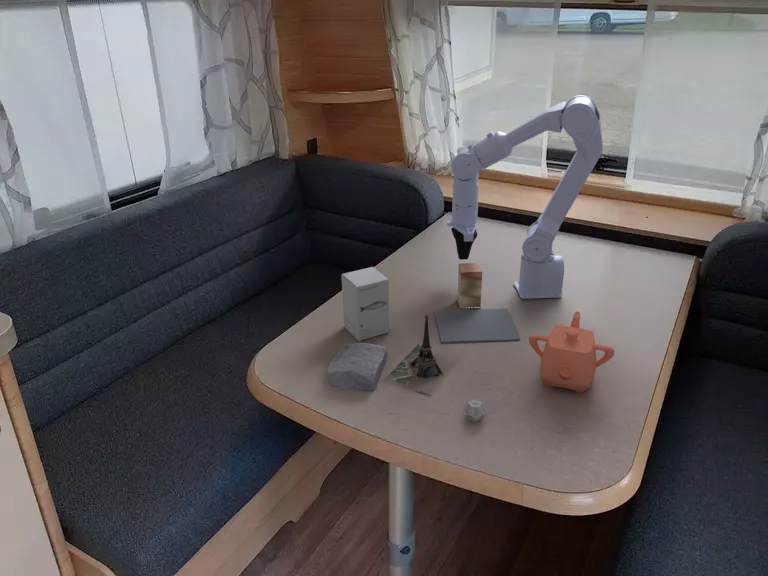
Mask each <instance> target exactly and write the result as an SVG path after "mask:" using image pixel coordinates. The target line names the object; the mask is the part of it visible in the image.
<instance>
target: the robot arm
mask: <svg viewBox="0 0 768 576" xmlns="http://www.w3.org/2000/svg"><path fill="white" fill-rule="evenodd" d="M601 123H602V122H601V114H600V111H599V109H598V107H597V105H596V103H595V101H594V100H593V99H592V98H591V97H589V96H587V95H583V94H579V95H575V96H573V97H572V98H569V100H568V101H567V100H564V101H562V102H559V103H557V104H555V105H553V106H551V107H549V108H548V109H546V110H544V111H542V112H540V113H539V114H537V115H536V116H533V117H532V118H530V119H529V120H527V121H526V122H524V123H523V124H520V125H519V126H517V127H515V128H514V129H512V130H510V131H508V132H504V131H496V132H493V131H490V132H488V133H487V134H486V137H485V138H484V139H482V140H480V141H478V142H476V143H475V144H473V143H470V144H468V145H467V148H463V149H461V150H459V152H458V153H457V154H456V155H455V157H454V158H453V159H452V161H451V167H450V168H451V171H452V174H453V183H452V210H451V211H452V212H451V213H452V214H451V220H446V225H447V227H451V228H450V231H451V233H452V236H453V238H454V240H455V244H456V245H455V246H456V252H457V257H458V259H459V261H461V260H468V259H469V256H470V253H471V250H472V246H473V245H474V244H473V243H474V242H475V240H476V239H477V237H478V232H477V228H478V225H479V222H478V221H479V220H478V213H479V212H478V211H479V190H480V189H479V187H480V183H479V176H480V175H479V170H485V169H487V168H489V167H491V166H493V165H495V164H497V163H499V162H500V161H502V160H505V159H507V158H508V157H510V156H512V152H513V149H514V147H516V146H518V145H520V144H523V143H524V142H526V141H529V140H531V139H533V138H535V137H537V136H539V135H541V134H543V133H545V132H547V131H550V132H552V133H553V132H554V133H559V134H560V133H562V130H563V129H564V131H565V132H566V134H568V135H569V137H571V138H572V141H573V143H574V146H575V148H576V152H575V153H574V155H573V157H572V159H571V160H570V163H569V164H568V166H567V168H566V170H565V171H564V173H563V175H562V177H561V179H560V181H559V183H558V184H557V186H556V188H555V190H554V192H553V194H552V195H551V197H550V199H549V200H548V202H547V204H546V205H545V208H544V210H543V211H542V213H541V214H540V215H539V217H538V219H537V220H536V221H535V222H533V223H532V224H531V225H530V226H529V227H528V229H527V230H526V237H525V239H524V241H523V243H522V251H521V255H520V268H519V280H518V281H514V283H513V285H514V287H515V288H516V291H517V293H518V295H519V298H520V299H522V300H529V299H532V300H533V299H556V298H557V299H558V298H559V299H560V298H563V294H562V293H563V283H564V276H565V262H564V261H565V260H564V258H563V256H562V255H561V254H555V252H553V244H554V241H555V238H556V237H557V235H558V232H559V230H560V228H561V225H562V223H563V222H564V221H565V219H566V216H567V215H568V212H569V211H570V210H571V208H572V207H573V204H574V202H575V201H576V199H577V197H578V195H579V193H581V190H582V189H583V186H584V184H585V183H586V181H588V179H589V177H590V174H591V173H592V171H593V169H595V168H594V167H595V166H596V165H597V162H598V161H599V159H600V157H601V155H602V153H603V148H604V144H603V143H604V142H603V134H602V133H603V131H602V124H601Z"/></svg>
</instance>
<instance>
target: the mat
mask: <svg viewBox="0 0 768 576" xmlns="http://www.w3.org/2000/svg"><path fill="white" fill-rule="evenodd" d="M434 314H435V319H436V324H437V329H438V335H439V339H440V344H447V343H449V344H452V343H453V344H455V343H479V342H481V343H483V342H484V343H485V342H487V341H488V342H509V341H510V342H511V341H515V342H516V341H517V342H518V341H521V337H520V335H519V333H518V331H517V328H516V326H515V323H514V320H513V318H512V316H511V313H510V312H509V308H506V307H505V308H504V307H503V308H474V309H448V310H447V309H446V310H445V309H444V310H441V309H440V310H434Z"/></svg>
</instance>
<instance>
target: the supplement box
mask: <svg viewBox="0 0 768 576" xmlns="http://www.w3.org/2000/svg"><path fill="white" fill-rule="evenodd" d="M340 275H341V290H342V294H341V295H342V307H343V308H342V311H343V328H345V329H346V330H347V331H348V332H349V333H350V335H352V336H353V337H354V339H356V341H358V342H360V341H364V340H367V339H370V338H374V337H377V336H381V335H384V334H389V333H390V310H389V309H390V307H389V305H390V301H389V294H390V293H389V291H390V290H389V278H388V277H386V276H385V275H384V274H383V273H382V272H380V271H379V270H377V269H376V268H375V267H374V266H370V267H367V268H361V269H358V270H357V269H356V270H354V271H349V272H345V273H342V274H340Z"/></svg>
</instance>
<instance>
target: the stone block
mask: <svg viewBox="0 0 768 576" xmlns="http://www.w3.org/2000/svg"><path fill="white" fill-rule="evenodd" d="M387 359H388V348H387V346H383V345H378V344H373V343H367V342H356V343H355V342H354V343H348V344H346V345H343V346H340V348H339V349H338V352H336V353H335V355H334V356H333V358H332V360H331V362H330V363H329V365H328V368H327V379H328V382H329V384H330V385H331V387H332V388H336V389H340V390H342V391H344V390H345V391H346V390H348V391H349V390H350V391H363V392H364V391H367V392H373V391H375V390H376V389H377V385H378V382H379V379H380V378H381V375H382V373H383V371H384V367H385V365H386V363H387Z"/></svg>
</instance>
